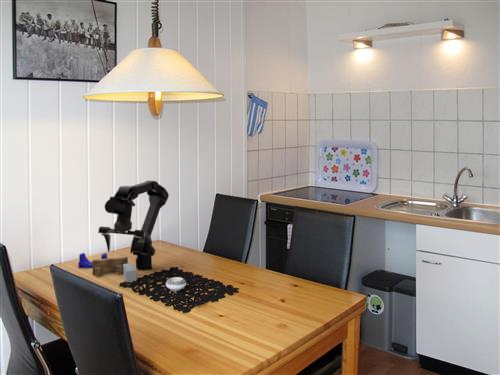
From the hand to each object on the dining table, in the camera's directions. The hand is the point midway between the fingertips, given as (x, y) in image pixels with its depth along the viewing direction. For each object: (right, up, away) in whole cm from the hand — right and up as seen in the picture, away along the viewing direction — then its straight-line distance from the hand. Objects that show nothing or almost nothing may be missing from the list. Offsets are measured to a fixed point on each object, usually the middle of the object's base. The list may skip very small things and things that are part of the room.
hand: (119, 252), depth 216 cm
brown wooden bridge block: (-6, -10, +10) cm, 16 cm away
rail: (+3, -11, +3) cm, 12 cm away
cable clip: (-17, -10, +20) cm, 28 cm away
